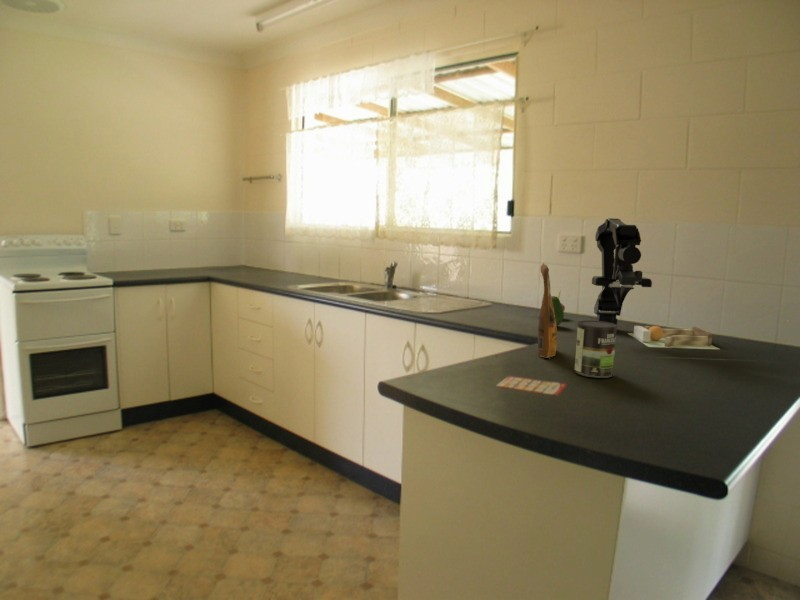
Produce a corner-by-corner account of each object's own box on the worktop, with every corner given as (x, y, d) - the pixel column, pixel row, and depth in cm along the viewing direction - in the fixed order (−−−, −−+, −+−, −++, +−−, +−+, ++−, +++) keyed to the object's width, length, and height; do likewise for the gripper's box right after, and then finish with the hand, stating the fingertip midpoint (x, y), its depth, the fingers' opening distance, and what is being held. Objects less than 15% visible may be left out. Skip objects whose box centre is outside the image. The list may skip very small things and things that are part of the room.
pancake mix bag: (531, 359, 173) (537, 266, 169) (536, 345, 191) (541, 261, 187) (555, 361, 171) (561, 267, 167) (557, 347, 189) (562, 262, 185)
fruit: (565, 329, 220) (567, 297, 218) (544, 328, 220) (546, 297, 218) (560, 325, 228) (562, 294, 226) (540, 324, 228) (541, 294, 226)
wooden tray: (665, 346, 191) (666, 335, 191) (643, 333, 212) (644, 323, 211) (716, 348, 190) (718, 336, 190) (689, 335, 211) (690, 324, 210)
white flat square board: (648, 348, 191) (648, 346, 191) (626, 334, 213) (626, 332, 213) (720, 350, 190) (720, 349, 190) (690, 336, 211) (691, 335, 211)
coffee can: (621, 376, 157) (625, 325, 155) (593, 381, 152) (597, 328, 150) (593, 367, 166) (596, 319, 164) (565, 371, 161) (569, 321, 159)
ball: (650, 341, 199) (651, 327, 198) (644, 338, 204) (646, 324, 203) (665, 341, 199) (666, 327, 198) (659, 338, 204) (660, 324, 203)
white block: (642, 341, 197) (643, 331, 197) (633, 335, 206) (634, 325, 206) (649, 341, 197) (650, 331, 196) (640, 336, 206) (641, 325, 206)
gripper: (602, 262, 191) (598, 309, 193) (660, 264, 190) (655, 311, 192) (592, 260, 202) (589, 304, 204) (647, 261, 201) (643, 305, 203)
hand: (619, 306), depth 200 cm, fingers closed
